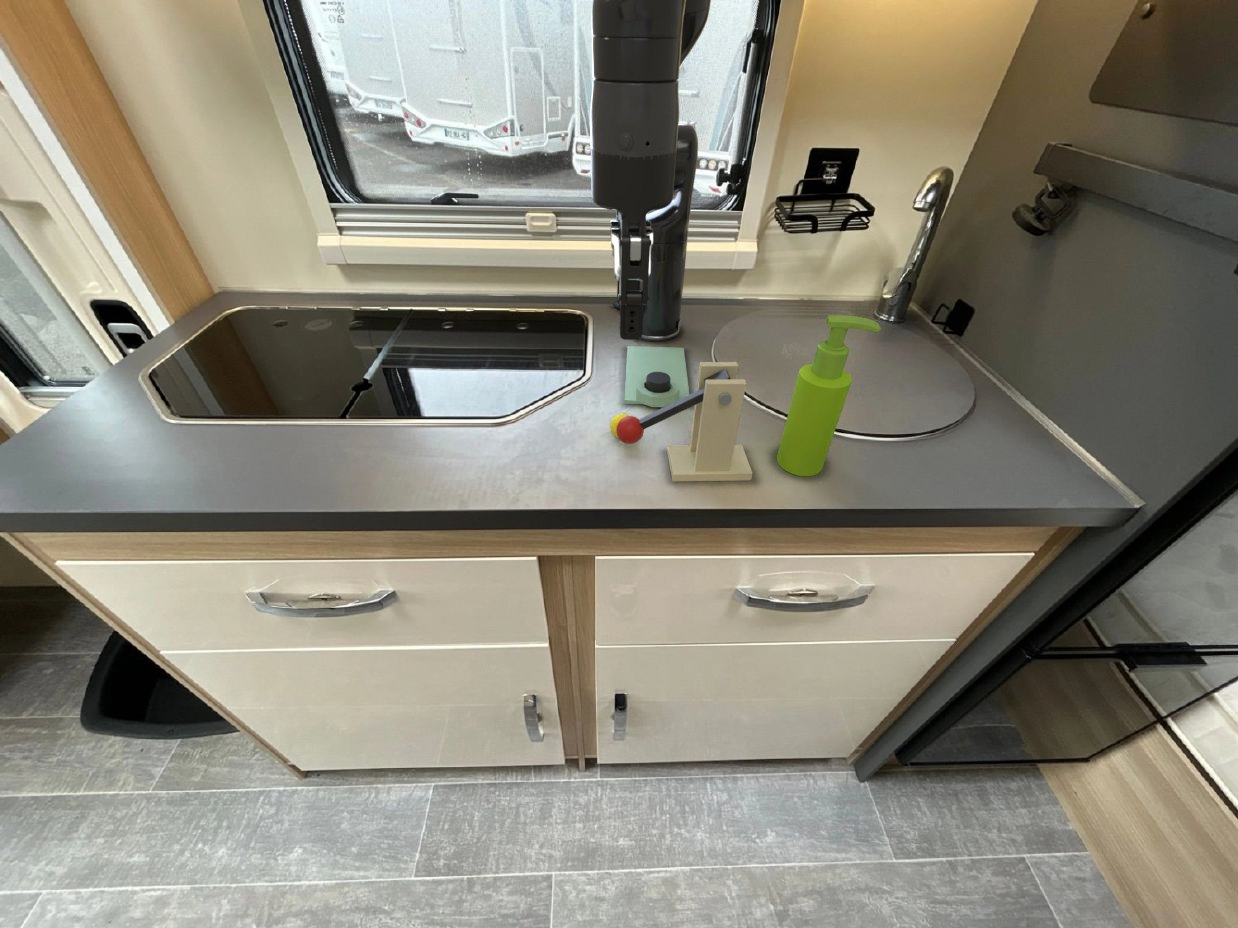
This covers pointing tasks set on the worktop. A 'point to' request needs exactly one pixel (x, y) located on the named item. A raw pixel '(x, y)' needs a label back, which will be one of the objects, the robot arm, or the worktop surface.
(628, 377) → the button block
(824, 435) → the soap dispenser
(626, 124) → the robot arm
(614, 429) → the yellow rounded piece
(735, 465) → the bracket
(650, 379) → the button
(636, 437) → the lever
